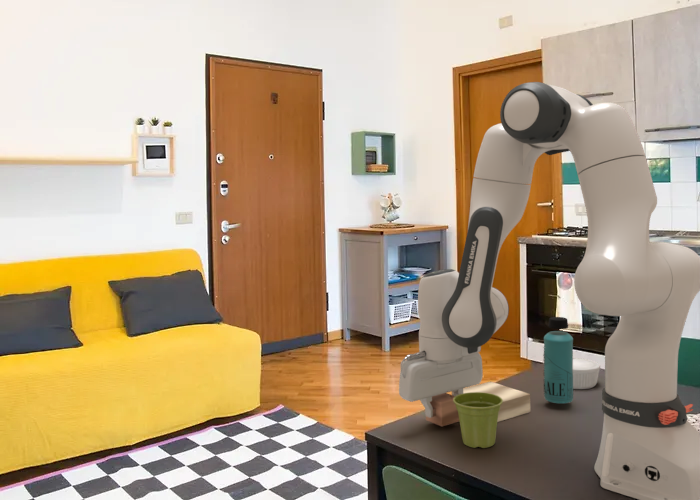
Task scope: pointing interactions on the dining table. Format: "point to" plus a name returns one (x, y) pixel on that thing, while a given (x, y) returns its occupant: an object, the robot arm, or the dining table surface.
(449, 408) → the terracotta cube
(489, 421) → the plant pot
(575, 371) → the ramekin
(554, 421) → the dining table surface
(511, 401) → the birch base
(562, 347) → the beverage bottle
